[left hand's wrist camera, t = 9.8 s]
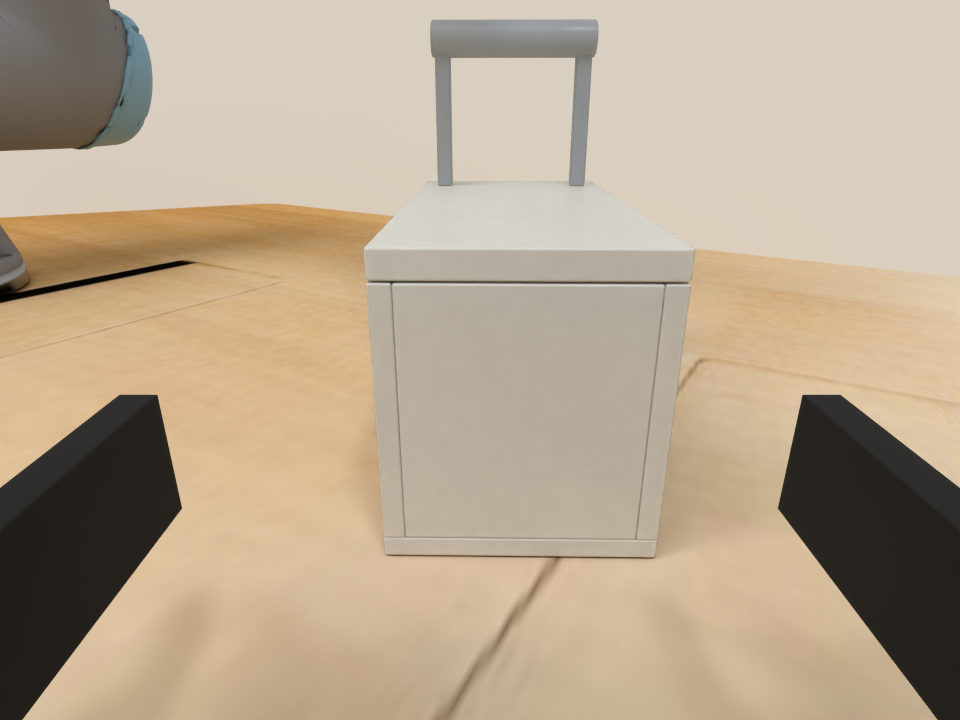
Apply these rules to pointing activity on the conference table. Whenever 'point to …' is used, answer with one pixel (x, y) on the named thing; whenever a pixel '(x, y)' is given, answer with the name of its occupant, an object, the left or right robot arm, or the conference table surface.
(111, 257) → the conference table surface
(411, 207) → the lid
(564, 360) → the chest
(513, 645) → the conference table surface
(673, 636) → the conference table surface
